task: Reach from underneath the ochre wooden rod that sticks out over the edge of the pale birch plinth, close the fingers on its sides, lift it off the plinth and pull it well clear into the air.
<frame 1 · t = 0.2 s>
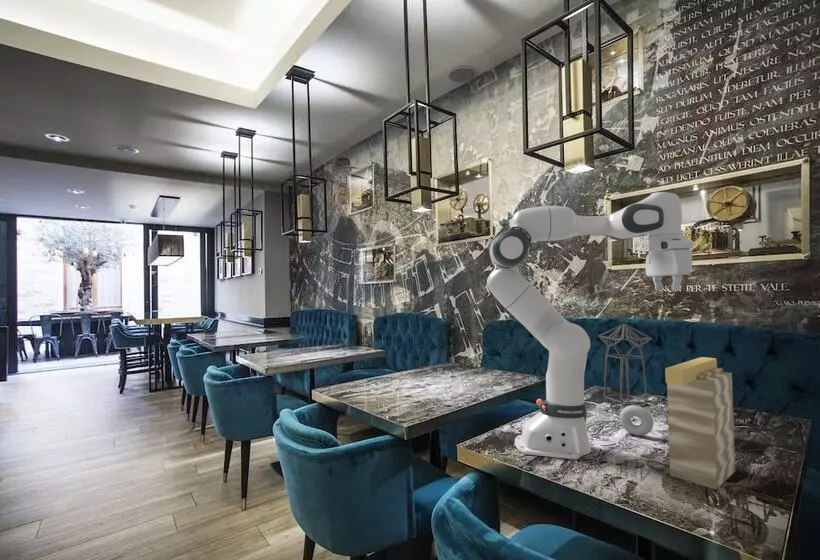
hand: (667, 290, 123), 48 cm above the table, tool pointing down, fingers open, 8 cm apart
donut: (636, 436, 135), on the table
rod: (692, 376, 105), point 26 cm above the table, touching plinth
geometric lantern: (626, 410, 165), on the table
plinth: (702, 473, 107), on the table
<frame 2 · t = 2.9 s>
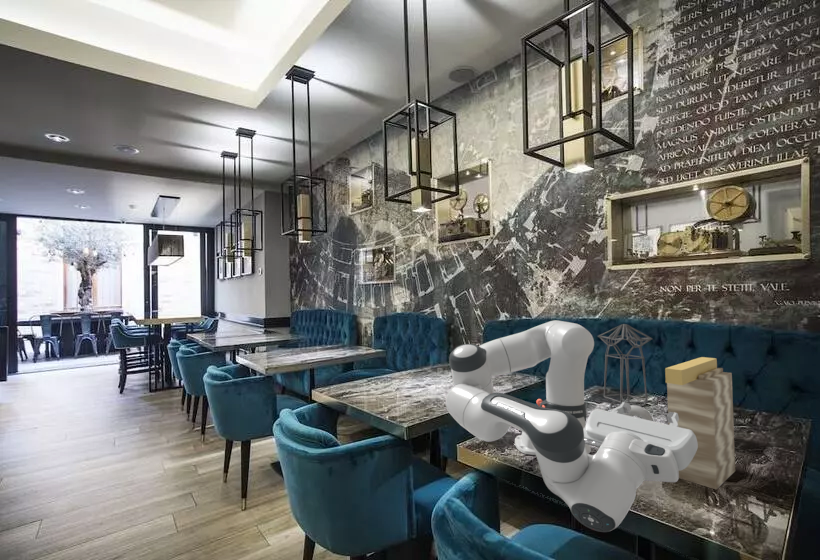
hand: (649, 409, 88), 23 cm above the table, tool pointing upward, fingers open, 8 cm apart
nothing on the table moved.
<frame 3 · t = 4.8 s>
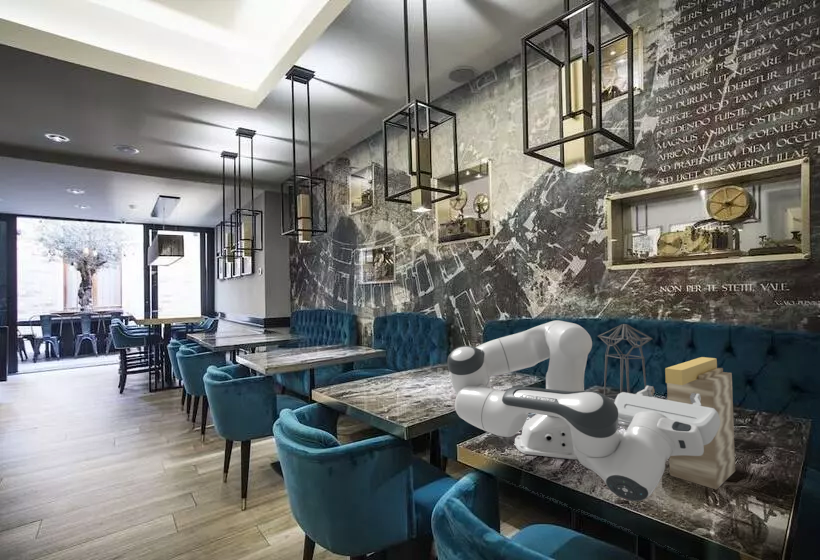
hand: (672, 391, 95), 25 cm above the table, tool pointing upward, fingers open, 8 cm apart
nothing on the table moved.
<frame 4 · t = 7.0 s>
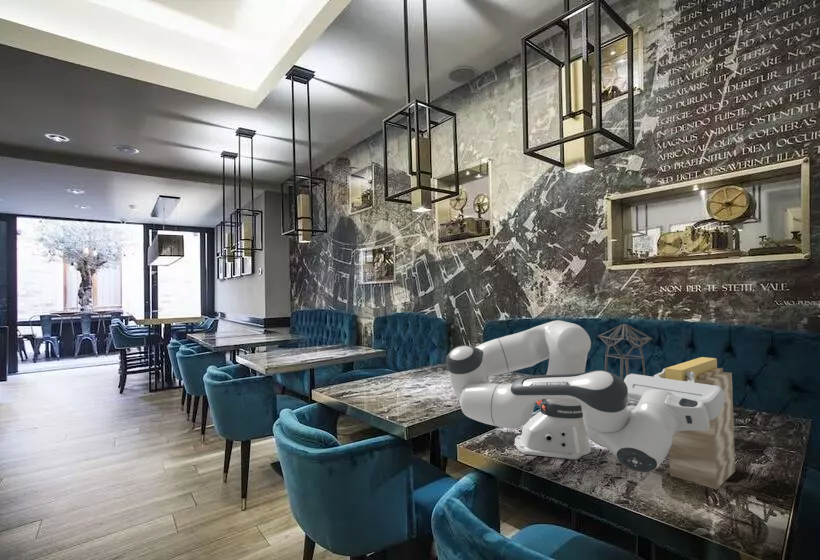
hand: (679, 372, 99), 28 cm above the table, tool pointing upward, fingers closed on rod, 3 cm apart
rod: (692, 376, 105), point 26 cm above the table, touching gripper, plinth
everything else where it was.
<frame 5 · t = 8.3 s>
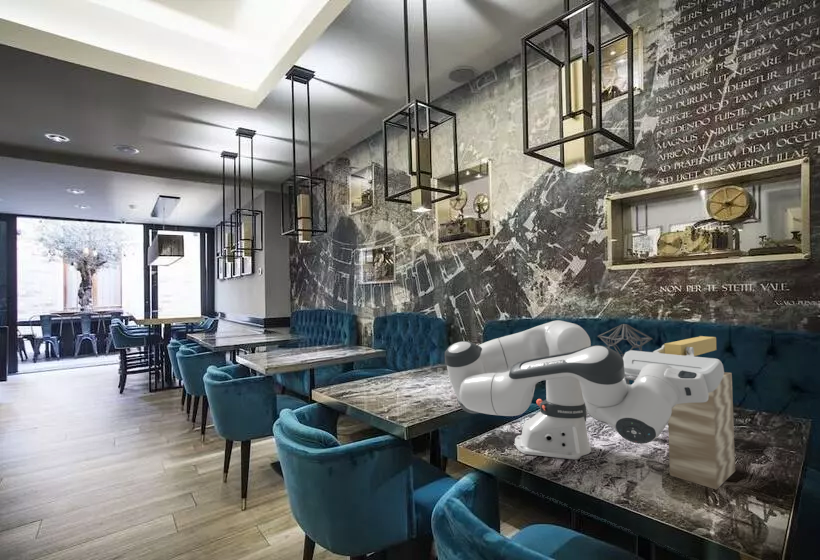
hand: (678, 348, 99), 34 cm above the table, tool pointing upward, fingers closed on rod, 3 cm apart
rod: (692, 353, 105), point 32 cm above the table, touching gripper
everything else where it was.
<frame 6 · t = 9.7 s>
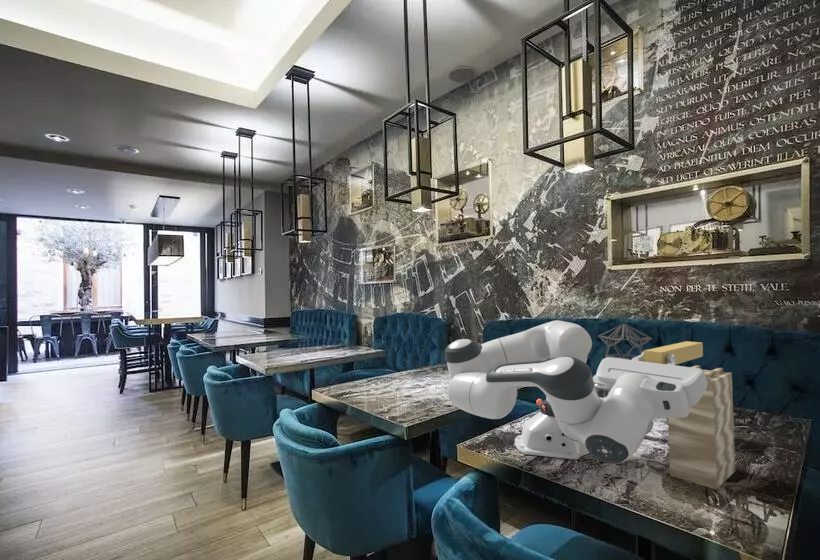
hand: (659, 355, 90), 34 cm above the table, tool pointing upward, fingers closed on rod, 3 cm apart
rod: (675, 361, 96), point 32 cm above the table, touching gripper
everything else where it was.
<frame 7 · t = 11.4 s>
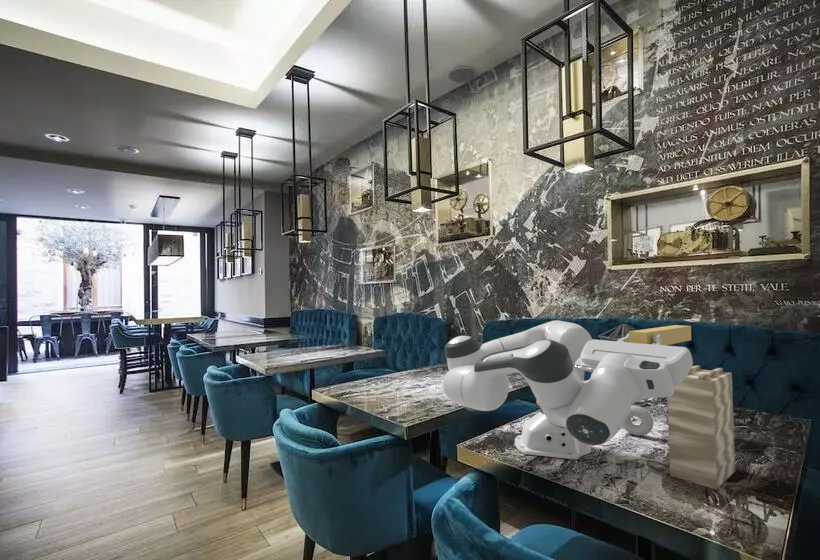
hand: (645, 336, 88), 38 cm above the table, tool pointing upward, fingers closed on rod, 3 cm apart
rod: (662, 343, 93), point 36 cm above the table, touching gripper
everything else where it was.
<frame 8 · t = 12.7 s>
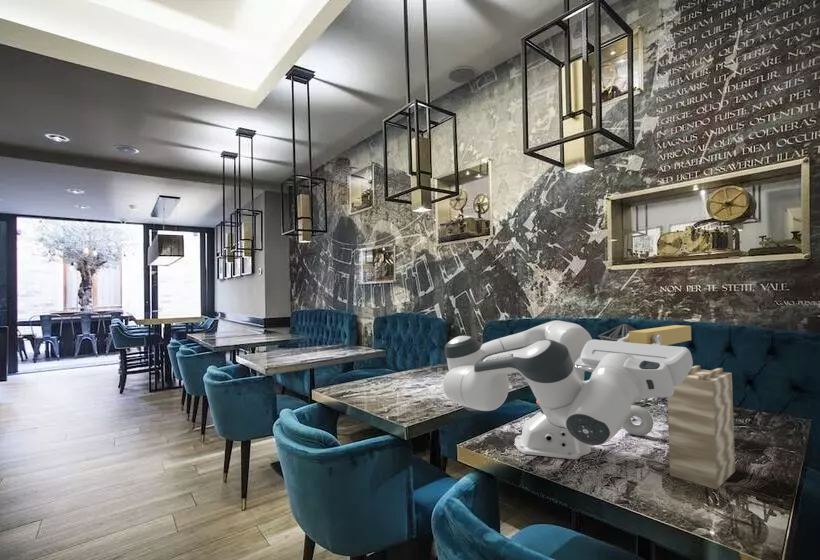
hand: (645, 336, 88), 38 cm above the table, tool pointing upward, fingers closed on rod, 3 cm apart
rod: (662, 343, 93), point 36 cm above the table, touching gripper
everything else where it was.
at the end: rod point 36.1 cm above the table; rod moved 21.4 cm from its start; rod touching gripper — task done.
